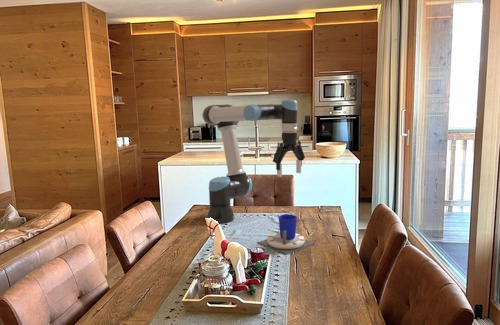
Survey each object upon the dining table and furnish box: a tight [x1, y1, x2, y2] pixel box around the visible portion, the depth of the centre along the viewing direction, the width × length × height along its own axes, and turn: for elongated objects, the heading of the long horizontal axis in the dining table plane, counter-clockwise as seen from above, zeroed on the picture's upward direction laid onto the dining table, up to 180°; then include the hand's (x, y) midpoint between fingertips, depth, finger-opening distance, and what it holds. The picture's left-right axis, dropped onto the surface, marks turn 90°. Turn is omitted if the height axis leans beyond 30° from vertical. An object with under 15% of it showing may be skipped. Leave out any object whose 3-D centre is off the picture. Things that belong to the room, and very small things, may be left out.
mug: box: [278, 213, 298, 240], centre depth 174 cm, size 8×12×10 cm
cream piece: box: [267, 230, 306, 249], centre depth 172 cm, size 17×17×8 cm
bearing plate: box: [257, 239, 315, 255], centre depth 172 cm, size 18×18×3 cm
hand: (289, 174), depth 188 cm, fingers open, 13 cm apart
